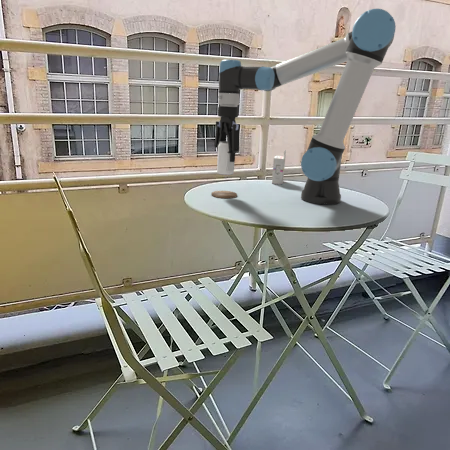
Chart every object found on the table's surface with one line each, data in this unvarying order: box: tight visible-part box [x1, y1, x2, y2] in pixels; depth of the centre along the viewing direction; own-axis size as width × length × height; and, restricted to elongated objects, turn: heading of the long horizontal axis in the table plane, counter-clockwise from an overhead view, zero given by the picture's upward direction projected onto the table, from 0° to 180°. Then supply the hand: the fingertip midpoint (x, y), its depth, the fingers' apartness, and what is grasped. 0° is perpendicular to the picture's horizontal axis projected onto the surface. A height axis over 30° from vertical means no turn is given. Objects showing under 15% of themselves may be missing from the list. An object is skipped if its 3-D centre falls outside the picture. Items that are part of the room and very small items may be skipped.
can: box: [216, 140, 235, 176], centre depth 149 cm, size 6×6×12 cm
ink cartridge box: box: [271, 149, 287, 185], centre depth 179 cm, size 9×5×15 cm, turn 168°
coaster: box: [211, 190, 238, 199], centre depth 153 cm, size 10×10×1 cm
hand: (225, 168), depth 150 cm, fingers closed on can, 6 cm apart
